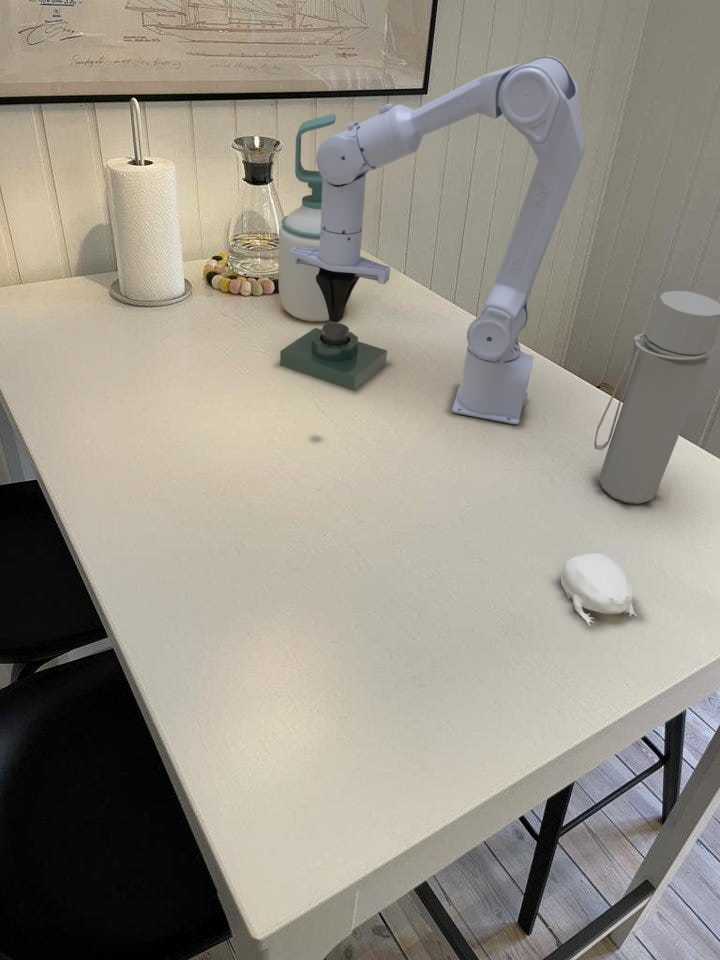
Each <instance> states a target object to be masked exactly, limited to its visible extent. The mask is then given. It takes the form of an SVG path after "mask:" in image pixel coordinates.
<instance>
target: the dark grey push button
mask: <svg viewBox="0 0 720 960" xmlns="http://www.w3.org/2000/svg"><path fill="white" fill-rule="evenodd" d="M321 330H322V342H323V343H325V344H328V345H332V346H341V345H346V344H347V343H348V337H349V332H350V328H349V327H348V326H347V325H346V324H343V323H340V322H338V323H337V322H328V323H326V324H324V325H322V327H321Z"/></svg>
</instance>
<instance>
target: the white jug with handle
mask: <svg viewBox="0 0 720 960" xmlns="http://www.w3.org/2000/svg"><path fill="white" fill-rule="evenodd" d="M336 118H337V117H336V114H333V113H332V114H328V115H324V116H320V117H316V118H312V119H308V120H306V121H304V122H302V123H301V124H300V125H299V127H298V130H297V134H296V135H295V153H294V154H295V158H294V161H295V163H294V174H295V178H296V179H297V180H298V181H299V182H302V183H306V184H307V187H308V188H309V189H311V194H309V195H305V196H303V197H301V205H300V206H299V207H298V208H295V209H294V210H292V211H291V212H289V214H288V215H285V217H284V218H282V219H281V222H280V223H281V225H280V226H279V229H278V293H279V299H280V302H281V305H282V307H283V309H284V310H285V312H287V313H288V314H289V315H291V316H293V317H294V318H296V319H298V320H300V321H304V322H305V321H306V322H311V323H323V322H329V315H328V310H327V306H326V302H325V299H324V296H323V293H322V291H321V289H320V287H319V285H318V284H317V282H316V275H317V274H319V268H316V267H312V266H307V265H303V264H297V265H294V264H290V250H292V249H293V248H295V247H301V248H309V249H320V228H321V203H322V183H323V177H322V176H321V174H320V172H319V170H308V169H305V168H304V167H303V165H302V160H301V159H302V135H304V134H305V133H307V132H311V131H314V130H319V129H322V128H326V127H329V126H332V125H334V124H336ZM351 296H352V293H351V294H350V296H349V299H348V301H347V304H346V307H345V309H346V308H347V306H348V304H349V302H350V300H351Z"/></svg>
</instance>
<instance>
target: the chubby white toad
mask: <svg viewBox="0 0 720 960" xmlns="http://www.w3.org/2000/svg"><path fill="white" fill-rule="evenodd" d="M560 584H561V587H562V588H563V590H564V591H565V593H566V595H567V598H568V599H569V600H572V605H573V607H574V610H575V611H576V613H577V614H578V615H579V616H580V617H581V618H582V619H583V620H584V621H585V622H586V624H587V625H588V626H591V624H595V622H594V621H592V620H596V618H594V617H592V616H590V615H591V613H590V612H589V613H585V612H584V610H583V609H587V610H589V611H594V612H597V613H599V614H607V615H608V614H609V615H611V614H612V615H614V614H615V615H617V614H622V613H623V614H627V613H628V614H629V615H628V616H629V617H630V618H631V617H632V615H633V616H634V617H636V618H637V614H636V613H635V611H634V607H633V599H634V597H635V596H634V589H633V583H632V581H631V580H630V578H629V577H628V576H627V574H626V573H625V572H624V570H623V569H622V567H621V566H620V565H619V564H618V563H617V562H615V561H614V560H613V559H612V558H611V557H609V556H608V555H606V554H603V553H600V552H590V553H583V554H578V555H575V556H571V557H570V558H568V559H567V560H566V561H565V563H563V566H562V569H561V571H560Z"/></svg>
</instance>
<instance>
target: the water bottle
mask: <svg viewBox="0 0 720 960" xmlns="http://www.w3.org/2000/svg"><path fill="white" fill-rule="evenodd" d="M719 328H720V303H719V302H718V301H717V300H715V299H713V298H711V297H708V296H707V295H703V294H701V293H696V292H693V291H685V290H684V291H683V290H671V291H665V292H663V293H662V294H661V295H660V296H659V298H658V300H657V303H656V306H655V307H654V310H653V312H652V313H651V317H650V319H649V321H648V324H647V326H646V328H645V330H644V332H643V333H639V334H637V335H634V338H633V339H634V340H633V348H632V352H631V354H630V356H629V358H628V361H627V363H626V365H625V367H624V369H623V370H622V374H621V375H620V377H619V380H618V382H617V384H616V386H615V389H614V391H613V393H612V394H611V397H610V399H609V401H608V403H607V405H606V408H605V410H604V412H603V414H602V417H601V419H600V421H599V422H598V425H597V427H596V432H595V437H594V443H593V445H594V450H597V451H603V450H604V449H606V448H607V446H608V445H609V446H608V449H607V452H606V455H605V458H604V461H603V464H602V467H601V470H600V473H599V475H598V479H599V482H600V486H601V488H602V490H603V491H604V492H605V493H607V494H608V495H609V496H610V497H612V499H616V500H618V501H620V502H623V503H627V504H638V505H640V504H644V503H646V502H650V501H652V500H653V499H654V497H655V496H656V494H657V493H658V490H659V488H660V485H661V482H662V480H663V477H664V475H665V473H666V470H667V468H668V465H669V462H670V459H671V457H672V454H673V451H674V449H675V447H676V444H677V441H678V439H679V436H680V434H681V431H682V428H683V426H684V423H685V421H686V418H687V416H688V413H689V410H690V408H691V406H692V403H693V401H694V398H695V395H696V393H697V390H698V387H699V386H700V382H701V380H702V377H703V374H704V372H705V370H706V367H707V364H708V362H709V359H710V356H711V354H712V353H713V351H714V349H715V342H716V339H717V334H718V330H719ZM641 338H643V340H644V341H643V342H642V344H640V341H641ZM638 350H640V351H639V354H638V357H637V360H636V363H635V366H634V368H633V372H632V374H631V378H630V381H629V384H628V386H627V383H628V378H629V375H630V371H631V367H632V364H633V361H634V358H635V357H634V356H635V354H636V352H637V351H638ZM628 366H629V367H628ZM627 369H628V370H627ZM626 370H627V374H626V377H625V381H624V384H623V387H622V391H621V394H620V397H619V401H618V404H617V407H616V411H615V413H614V414H615V415H614V417H613V421H612V425H611V427H610V428H611V429H610V431H609V435H608V439H607V440H606V442H605V443H603V444H602V445H600V444H599V445H598V444H597V438H598V433H599V430H600V428H601V426H602V423H603V421H604V419H605V416H606V414H607V412H608V410H609V408H610V406H611V404H612V401H613V399H614V397H615V395H616V393H617V390H618V388H619V386H620V384H621V382H622V379H623V377H624V375H625V372H626ZM626 386H627V391H626V394H625V396H624V393H625V389H626ZM623 396H624V399H623ZM622 400H623V403H622ZM621 403H622V406H621ZM620 407H621V409H620ZM618 413H619V414H618ZM616 421H617V422H616Z"/></svg>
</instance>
